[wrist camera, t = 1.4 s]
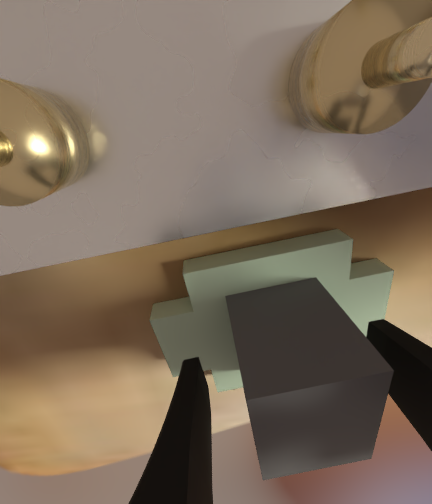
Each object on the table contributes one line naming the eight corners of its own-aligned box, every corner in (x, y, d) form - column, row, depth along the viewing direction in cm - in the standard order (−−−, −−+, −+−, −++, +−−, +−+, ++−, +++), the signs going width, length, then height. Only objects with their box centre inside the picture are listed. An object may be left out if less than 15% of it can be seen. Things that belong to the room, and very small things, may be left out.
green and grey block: (381, 219, 11) (550, 300, 6) (362, 343, 14) (454, 458, 9) (139, 268, 11) (94, 392, 6) (183, 379, 14) (178, 514, 9)
